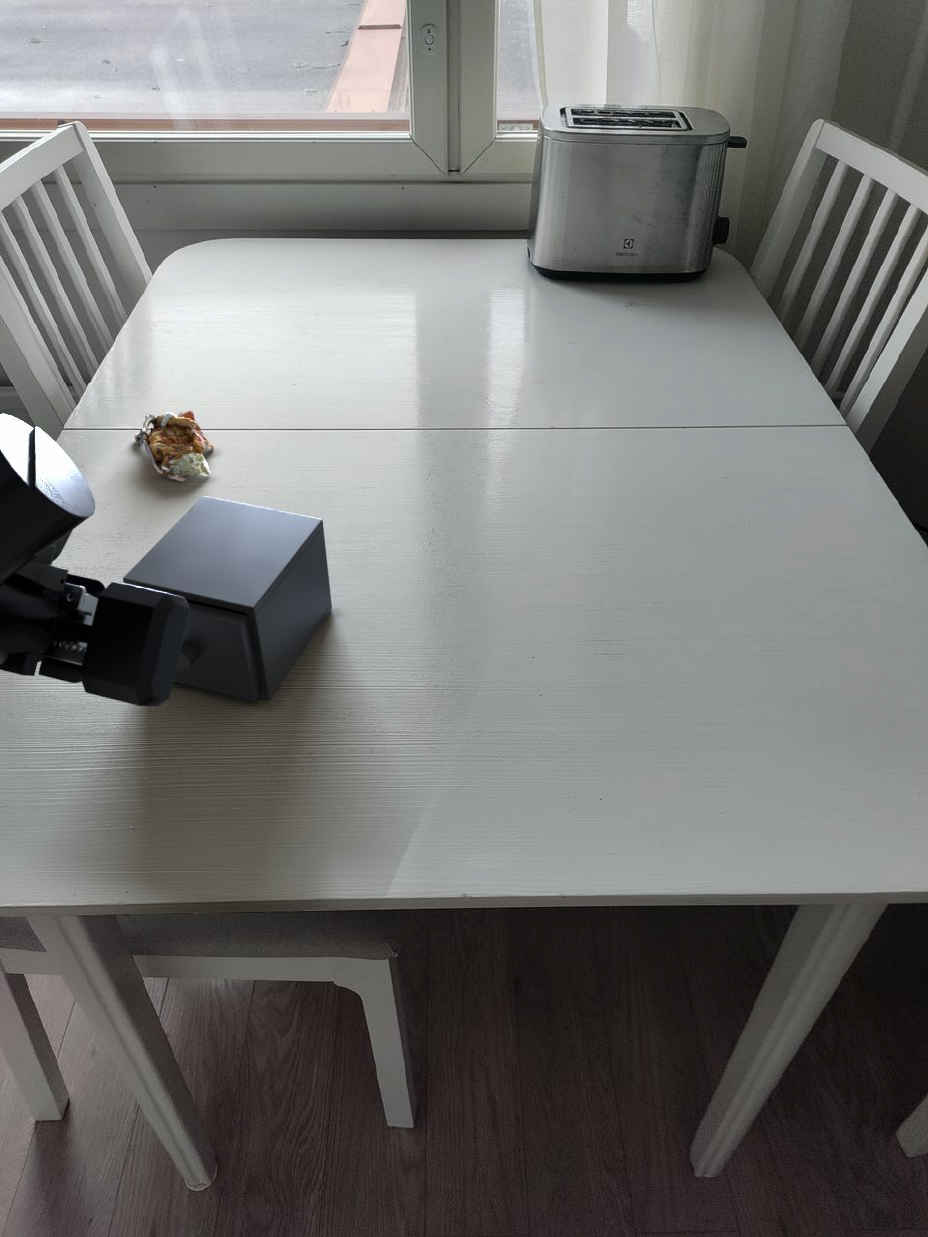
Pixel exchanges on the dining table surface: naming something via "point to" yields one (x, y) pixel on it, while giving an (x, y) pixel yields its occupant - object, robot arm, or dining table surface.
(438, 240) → the dining table surface
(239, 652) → the fryer drawer
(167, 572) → the dark grey box
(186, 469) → the pastry
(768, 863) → the dining table surface
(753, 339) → the dining table surface
